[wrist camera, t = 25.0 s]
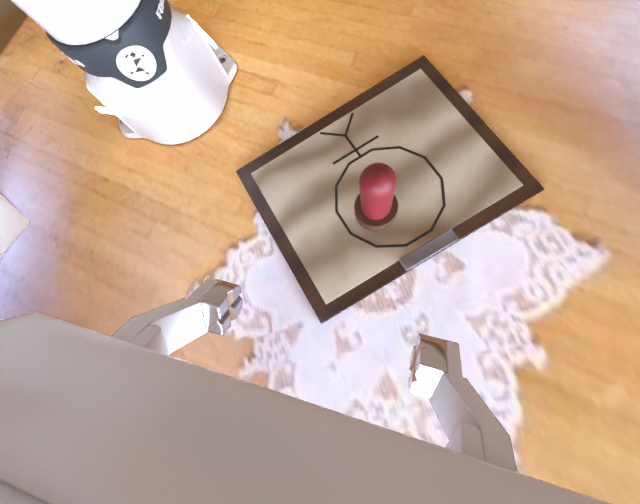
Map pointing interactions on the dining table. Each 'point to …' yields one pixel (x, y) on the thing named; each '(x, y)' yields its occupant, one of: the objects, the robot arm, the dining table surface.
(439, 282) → the dining table surface
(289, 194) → the drawing board
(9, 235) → the napkin holder
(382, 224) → the dot stamp
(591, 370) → the dining table surface
